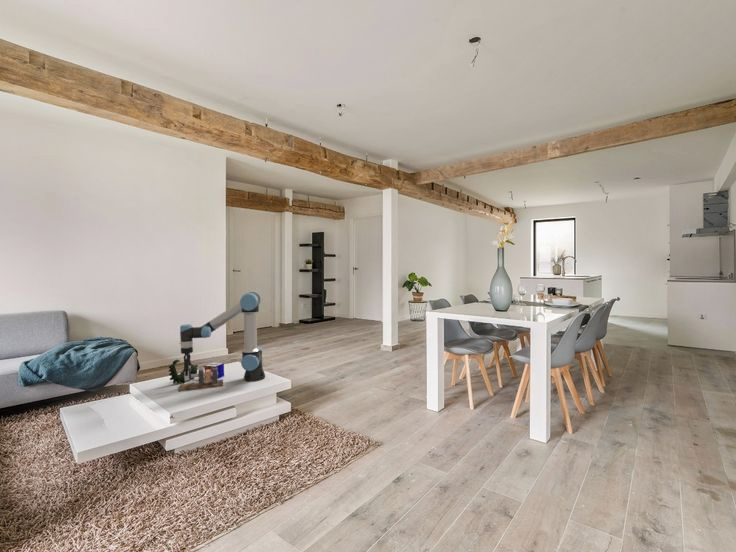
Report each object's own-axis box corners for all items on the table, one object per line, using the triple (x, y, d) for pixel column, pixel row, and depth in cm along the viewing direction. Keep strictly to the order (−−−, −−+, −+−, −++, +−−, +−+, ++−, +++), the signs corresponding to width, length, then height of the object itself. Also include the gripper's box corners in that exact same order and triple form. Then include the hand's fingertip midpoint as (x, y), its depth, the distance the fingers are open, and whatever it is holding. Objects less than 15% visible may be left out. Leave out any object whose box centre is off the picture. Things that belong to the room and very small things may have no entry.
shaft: (218, 375, 272) (217, 365, 272) (218, 376, 269) (217, 366, 269) (184, 379, 264) (184, 369, 264) (184, 380, 262) (184, 370, 261)
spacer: (210, 377, 272) (210, 369, 271) (210, 380, 266) (210, 371, 266) (206, 378, 270) (205, 369, 270) (205, 380, 265) (205, 372, 265)
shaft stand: (222, 381, 277) (222, 365, 277) (222, 386, 266) (222, 370, 266) (180, 386, 267) (179, 370, 267) (178, 391, 256) (177, 374, 256)
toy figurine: (177, 389, 267) (203, 375, 291) (174, 362, 265) (201, 351, 288) (167, 387, 270) (194, 374, 294) (164, 362, 268) (191, 351, 292)
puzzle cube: (215, 380, 281) (214, 366, 281) (204, 379, 284) (204, 365, 284) (224, 376, 290) (224, 363, 290) (213, 375, 294) (213, 362, 293)
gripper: (182, 344, 273) (183, 373, 274) (178, 351, 250) (179, 383, 251) (194, 343, 276) (195, 372, 277) (191, 350, 253) (192, 381, 253)
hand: (187, 377), depth 264 cm, fingers open, 13 cm apart
